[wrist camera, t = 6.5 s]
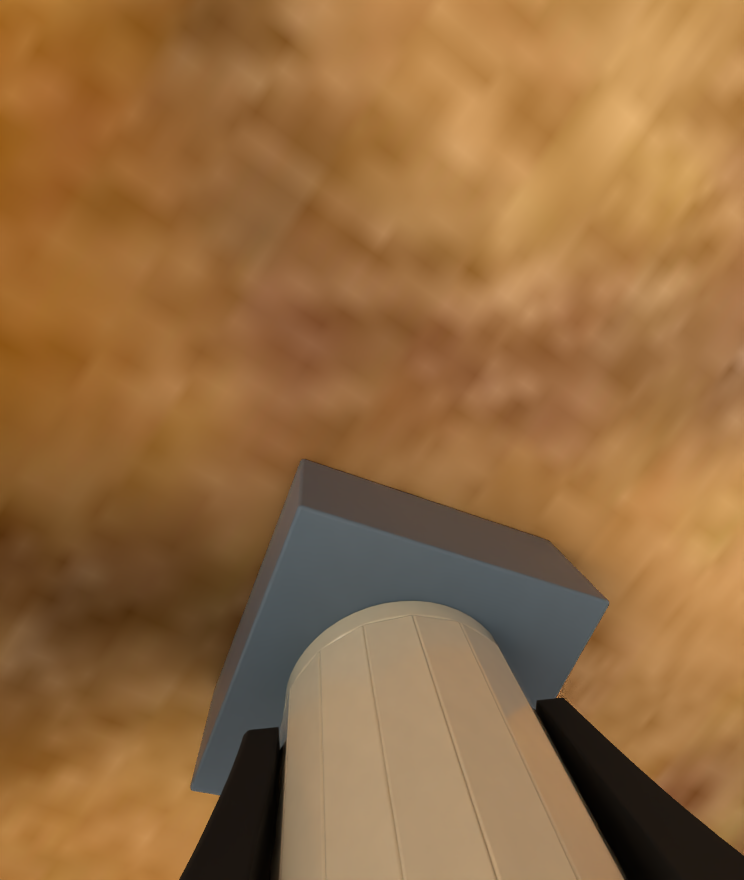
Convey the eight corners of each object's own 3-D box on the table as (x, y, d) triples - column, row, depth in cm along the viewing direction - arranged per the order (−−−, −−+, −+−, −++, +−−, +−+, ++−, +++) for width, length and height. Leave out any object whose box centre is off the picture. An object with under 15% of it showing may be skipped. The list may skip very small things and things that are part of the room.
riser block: (214, 689, 15) (188, 792, 12) (301, 457, 13) (298, 505, 10) (444, 739, 16) (475, 840, 13) (549, 539, 15) (612, 602, 12)
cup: (238, 731, 11) (163, 1170, 6) (376, 557, 10) (454, 865, 5) (416, 812, 13) (502, 1227, 7) (550, 664, 12) (772, 1000, 6)
